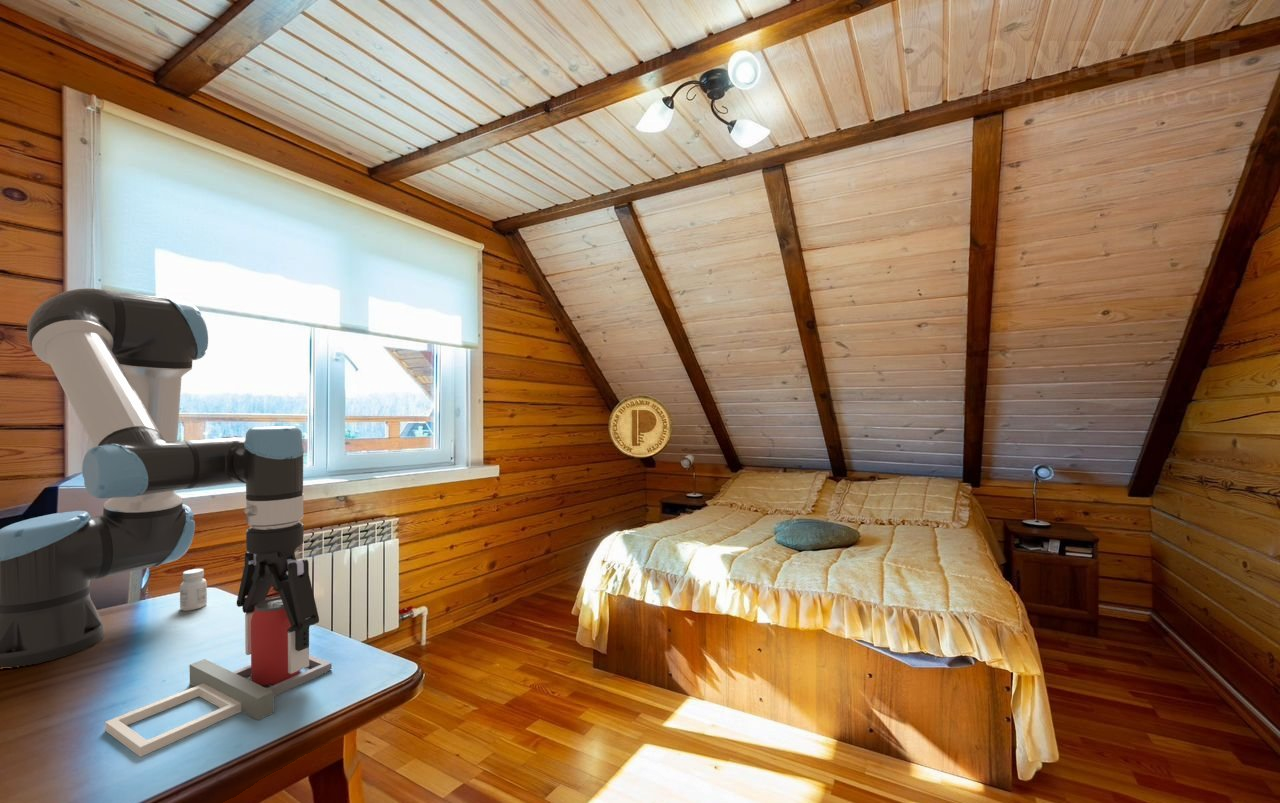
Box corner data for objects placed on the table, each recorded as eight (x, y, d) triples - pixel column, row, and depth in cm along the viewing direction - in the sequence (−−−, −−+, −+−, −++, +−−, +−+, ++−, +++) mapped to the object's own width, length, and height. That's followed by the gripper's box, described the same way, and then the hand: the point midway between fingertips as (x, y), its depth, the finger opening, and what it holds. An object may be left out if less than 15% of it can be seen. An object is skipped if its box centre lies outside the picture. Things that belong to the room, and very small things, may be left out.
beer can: (276, 690, 81) (275, 612, 81) (240, 686, 83) (239, 608, 83) (311, 669, 88) (310, 596, 88) (277, 665, 89) (276, 593, 89)
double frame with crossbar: (92, 721, 74) (92, 699, 74) (279, 649, 95) (279, 632, 95) (156, 768, 64) (156, 743, 64) (348, 677, 85) (348, 658, 85)
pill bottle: (208, 601, 117) (207, 566, 117) (205, 608, 114) (204, 571, 114) (182, 605, 115) (181, 570, 115) (178, 612, 111) (177, 575, 111)
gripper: (210, 520, 88) (211, 652, 88) (293, 538, 76) (294, 690, 76) (261, 511, 94) (262, 635, 94) (344, 527, 83) (345, 667, 83)
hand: (276, 660), depth 85 cm, fingers open, 12 cm apart
